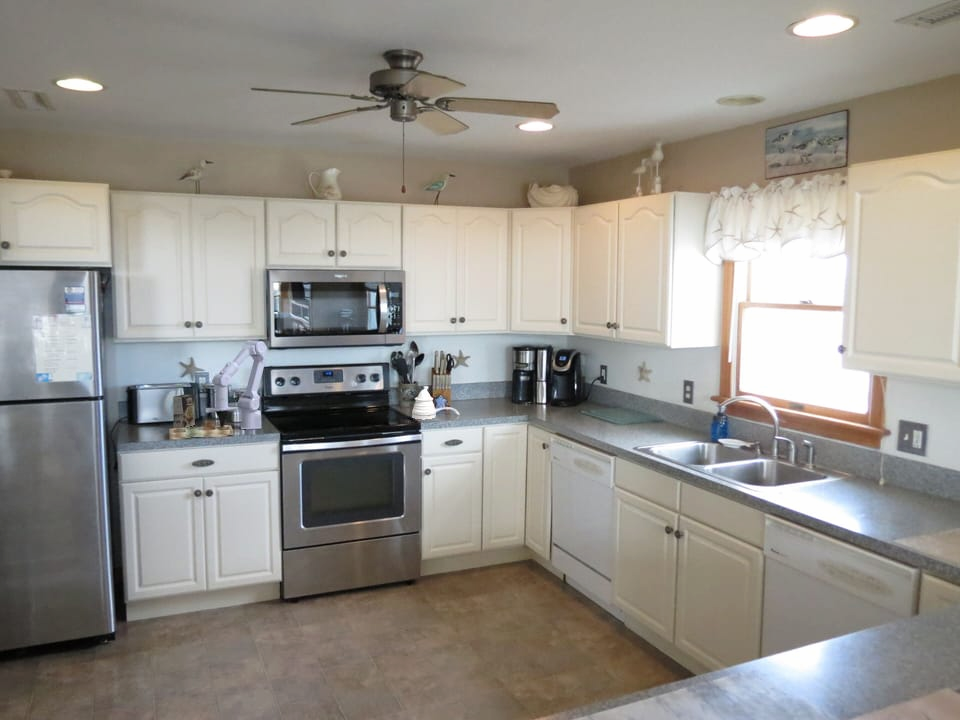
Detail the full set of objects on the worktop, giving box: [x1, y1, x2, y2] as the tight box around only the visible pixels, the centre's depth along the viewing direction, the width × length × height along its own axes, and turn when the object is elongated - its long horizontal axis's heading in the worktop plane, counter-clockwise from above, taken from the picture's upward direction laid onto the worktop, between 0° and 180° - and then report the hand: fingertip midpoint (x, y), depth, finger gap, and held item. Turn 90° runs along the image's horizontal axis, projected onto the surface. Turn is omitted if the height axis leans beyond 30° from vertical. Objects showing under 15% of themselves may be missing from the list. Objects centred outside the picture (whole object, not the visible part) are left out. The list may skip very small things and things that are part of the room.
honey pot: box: [411, 385, 437, 420], centre depth 401 cm, size 13×13×18 cm
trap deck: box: [168, 424, 234, 441], centre depth 354 cm, size 28×14×2 cm, turn 113°
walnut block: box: [204, 419, 216, 430], centre depth 355 cm, size 4×4×4 cm
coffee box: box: [172, 394, 196, 428], centre depth 369 cm, size 9×6×16 cm
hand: (222, 426), depth 357 cm, fingers closed
